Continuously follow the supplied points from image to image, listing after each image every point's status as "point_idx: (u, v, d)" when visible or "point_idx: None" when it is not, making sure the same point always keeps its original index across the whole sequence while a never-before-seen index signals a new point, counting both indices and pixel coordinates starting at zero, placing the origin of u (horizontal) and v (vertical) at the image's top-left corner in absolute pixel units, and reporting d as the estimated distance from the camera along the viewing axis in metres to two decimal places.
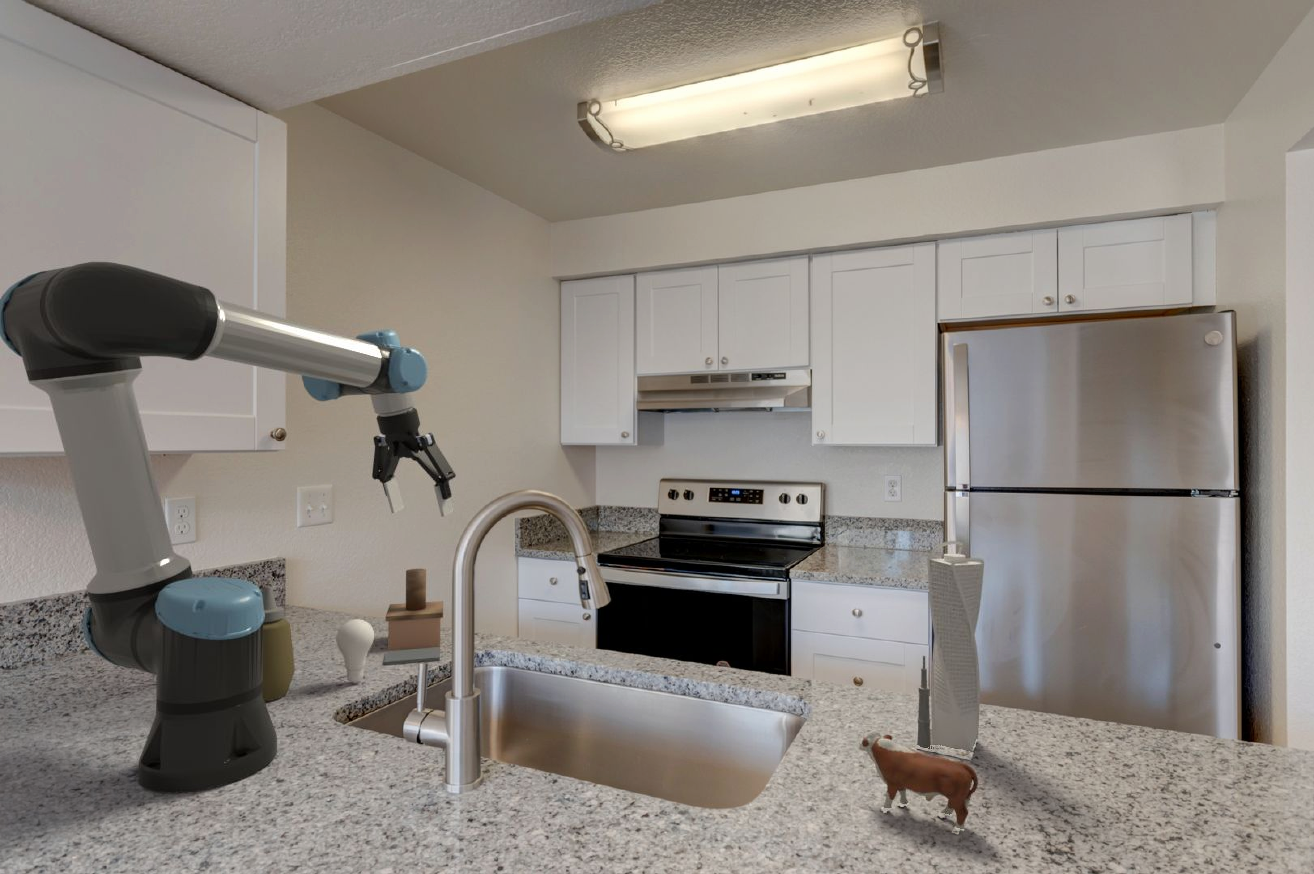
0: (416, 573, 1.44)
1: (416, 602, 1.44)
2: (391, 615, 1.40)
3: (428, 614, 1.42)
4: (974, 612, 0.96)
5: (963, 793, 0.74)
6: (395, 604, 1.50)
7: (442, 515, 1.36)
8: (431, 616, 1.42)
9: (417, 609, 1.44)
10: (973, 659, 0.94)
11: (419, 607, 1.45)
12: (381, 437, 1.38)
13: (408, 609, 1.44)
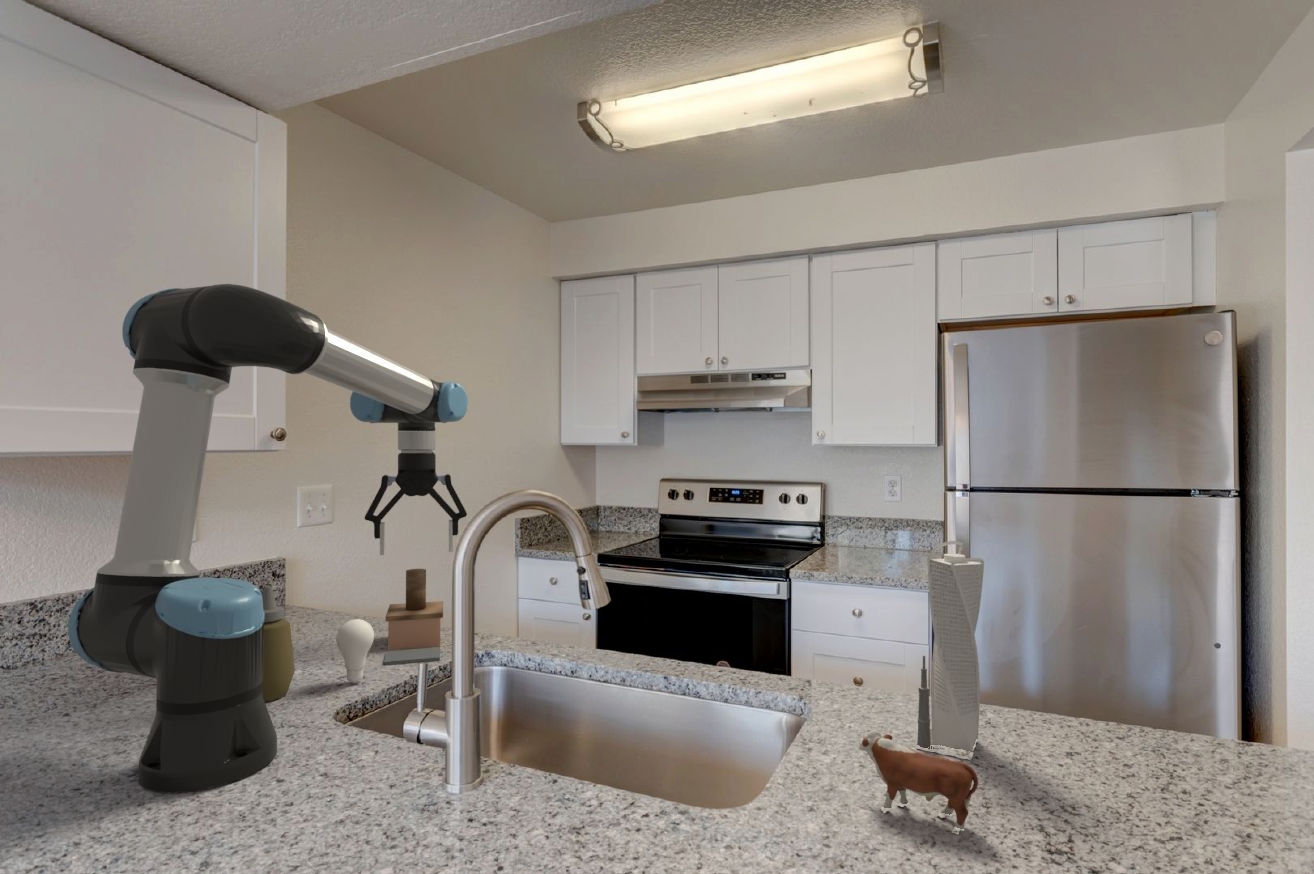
0: (416, 573, 1.44)
1: (416, 602, 1.44)
2: (391, 615, 1.40)
3: (428, 614, 1.42)
4: (974, 612, 0.96)
5: (963, 793, 0.74)
6: (395, 604, 1.50)
7: (450, 550, 1.47)
8: (431, 616, 1.42)
9: (417, 609, 1.44)
10: (973, 659, 0.94)
11: (419, 607, 1.45)
12: (389, 477, 1.45)
13: (408, 609, 1.44)
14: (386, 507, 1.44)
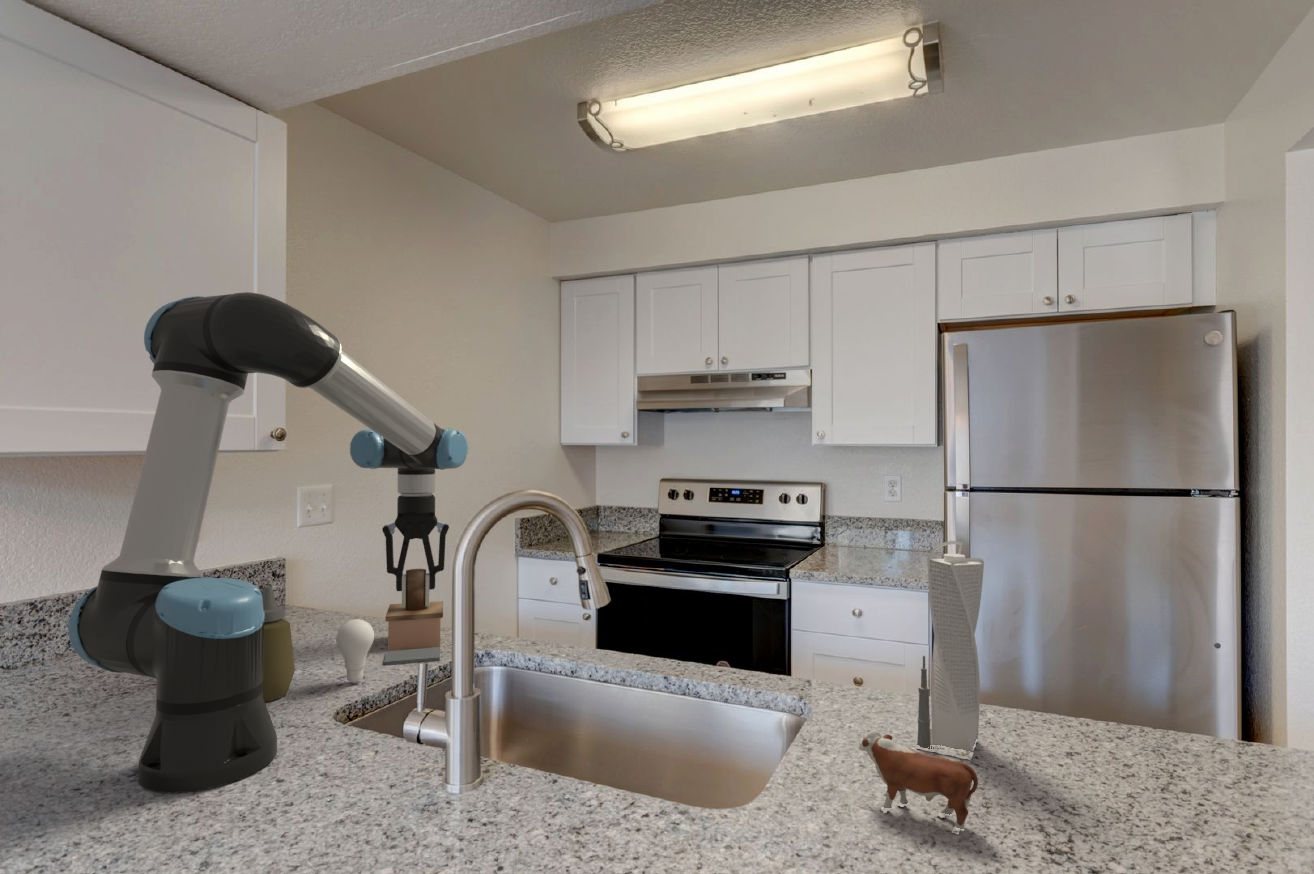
0: (416, 573, 1.44)
1: (416, 602, 1.44)
2: (391, 615, 1.40)
3: (428, 614, 1.42)
4: (974, 612, 0.96)
5: (963, 793, 0.74)
6: (395, 604, 1.50)
7: (427, 605, 1.46)
8: (431, 616, 1.42)
9: (417, 609, 1.44)
10: (973, 659, 0.94)
11: (419, 607, 1.45)
12: (389, 525, 1.44)
13: (408, 609, 1.44)
14: (401, 558, 1.44)
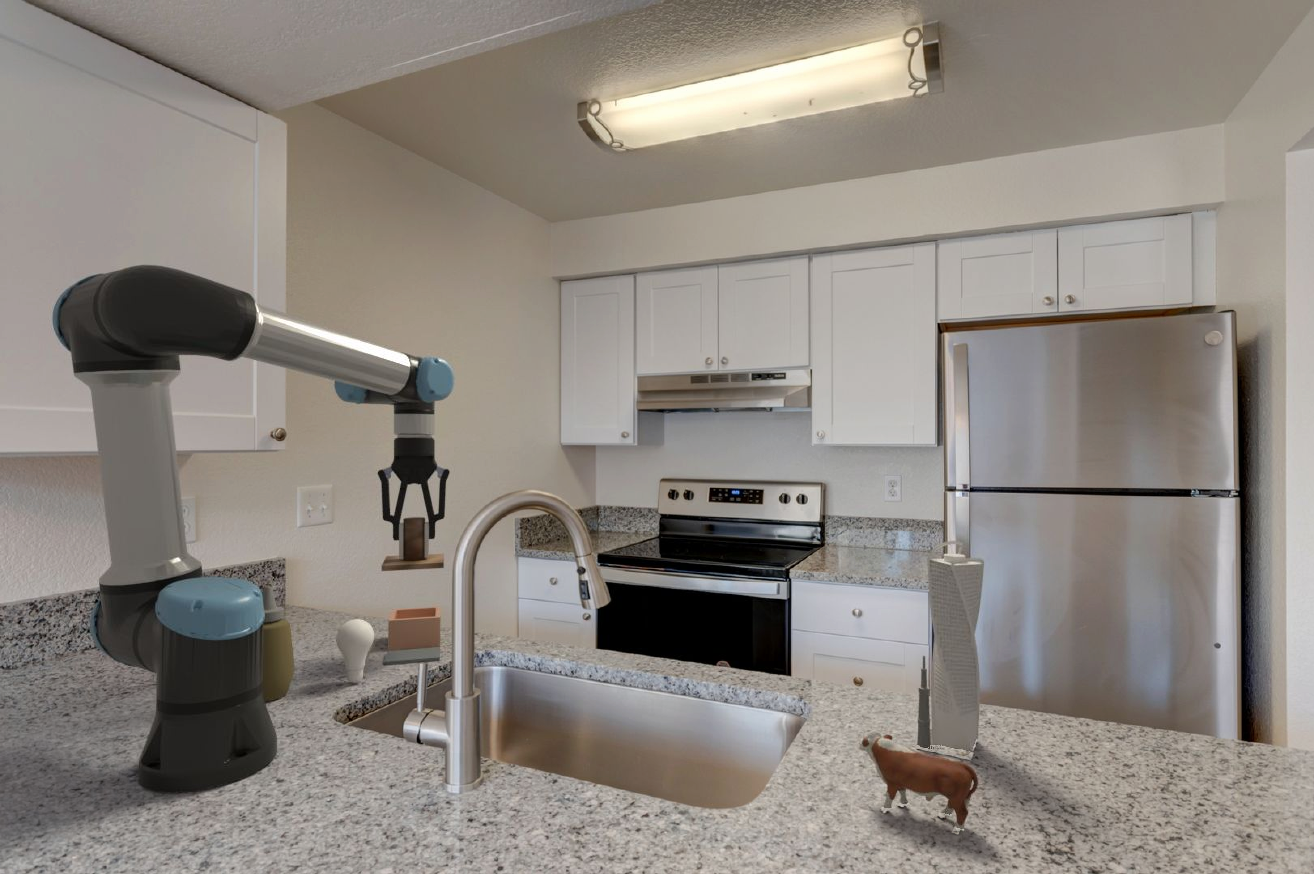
0: (414, 521, 1.34)
1: (414, 551, 1.34)
2: (387, 565, 1.30)
3: (428, 564, 1.31)
4: (974, 612, 0.96)
5: (963, 793, 0.74)
6: (392, 556, 1.39)
7: (426, 555, 1.35)
8: (431, 566, 1.31)
9: (416, 559, 1.34)
10: (973, 659, 0.94)
11: (418, 558, 1.34)
12: (384, 469, 1.34)
13: (406, 559, 1.34)
14: (398, 504, 1.34)
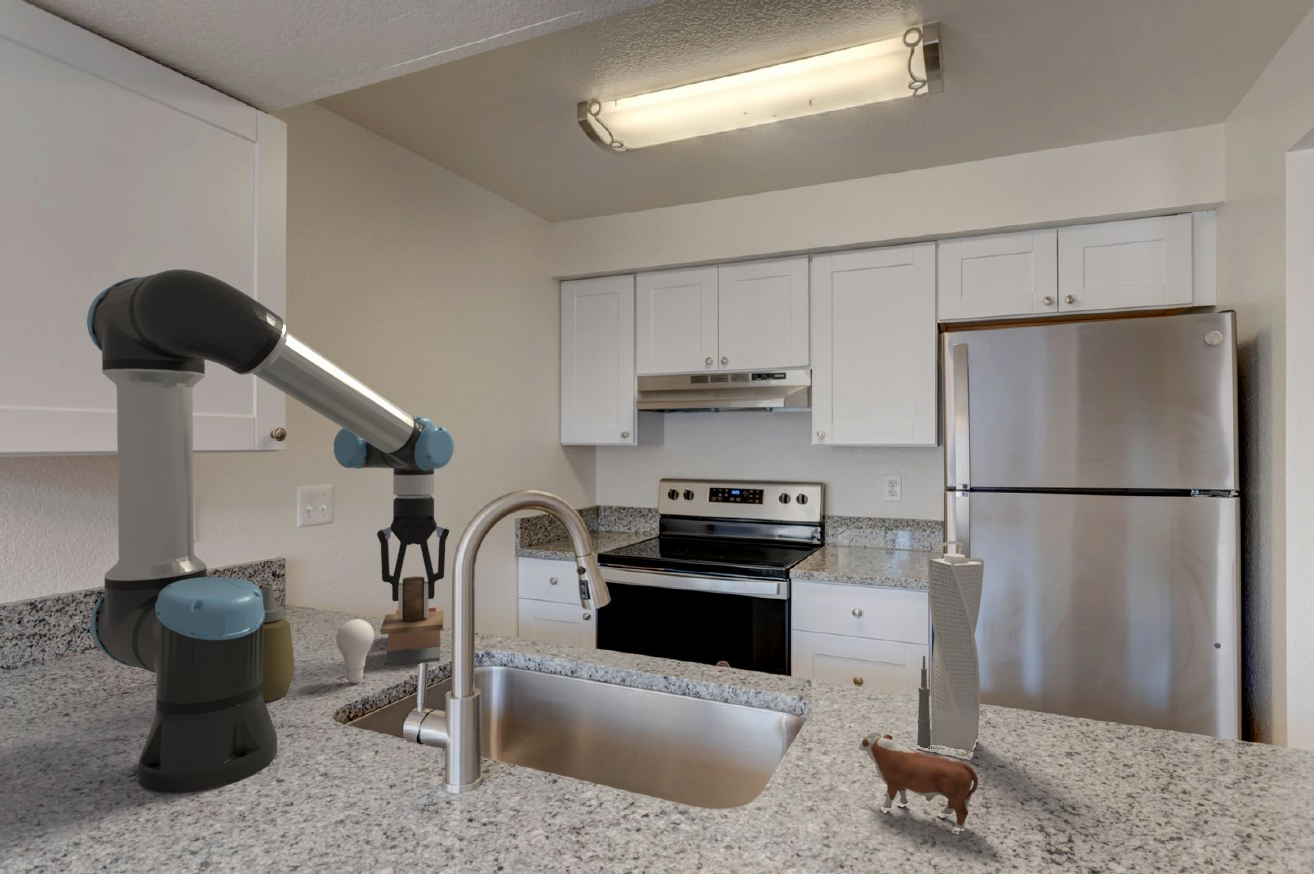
0: (414, 581, 1.33)
1: (414, 612, 1.33)
2: (387, 627, 1.29)
3: (427, 626, 1.31)
4: (974, 612, 0.96)
5: (963, 793, 0.74)
6: (391, 615, 1.39)
7: (425, 616, 1.35)
8: (430, 629, 1.31)
9: (415, 620, 1.33)
10: (973, 659, 0.94)
11: (417, 618, 1.34)
12: (384, 530, 1.33)
13: (405, 620, 1.33)
14: (397, 565, 1.33)
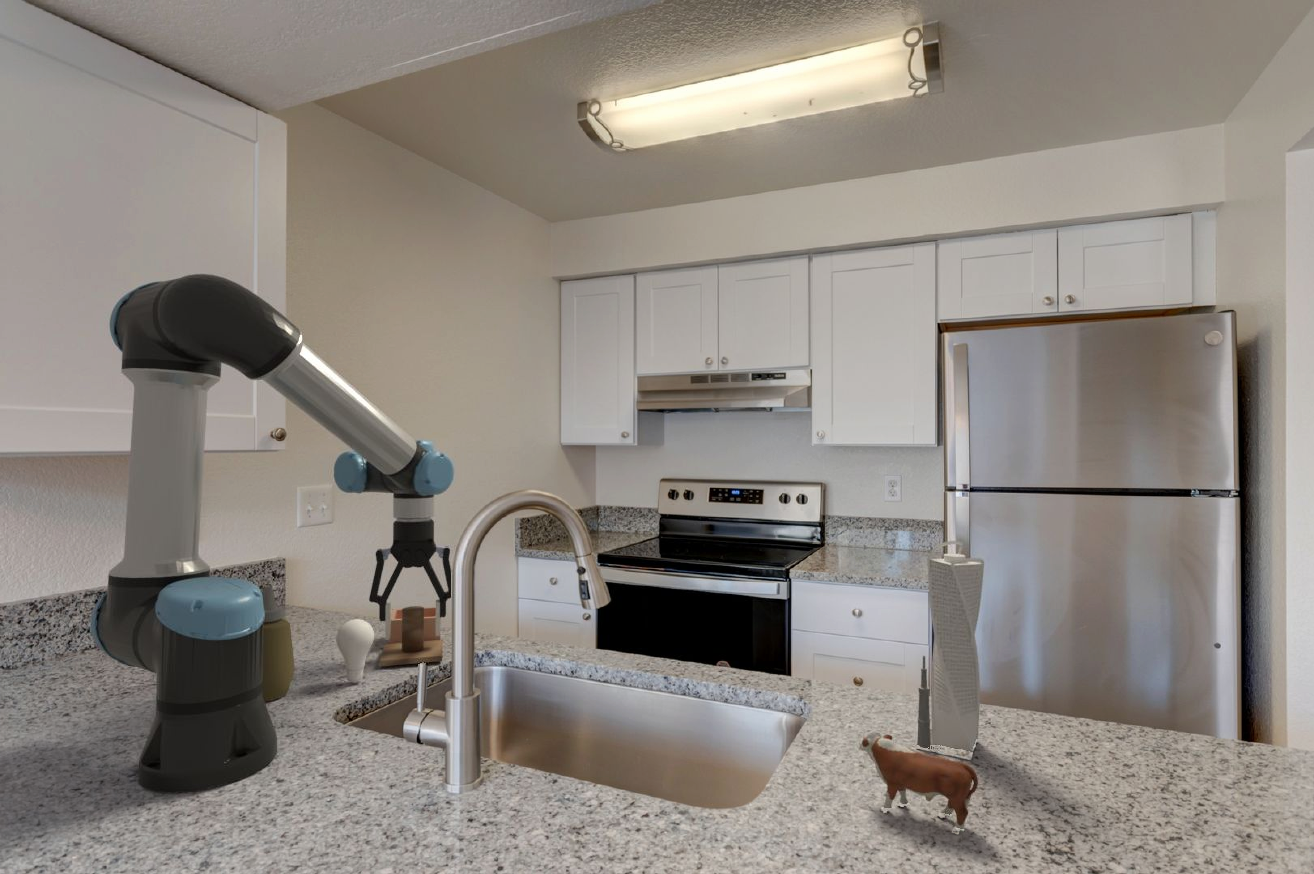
0: (413, 612, 1.33)
1: (413, 643, 1.33)
2: (386, 659, 1.29)
3: (426, 657, 1.31)
4: (974, 612, 0.96)
5: (963, 793, 0.74)
6: (391, 644, 1.39)
7: (437, 634, 1.35)
8: (429, 660, 1.31)
9: (414, 651, 1.33)
10: (973, 659, 0.94)
11: (416, 649, 1.34)
12: (383, 550, 1.33)
13: (404, 651, 1.33)
14: (388, 585, 1.33)
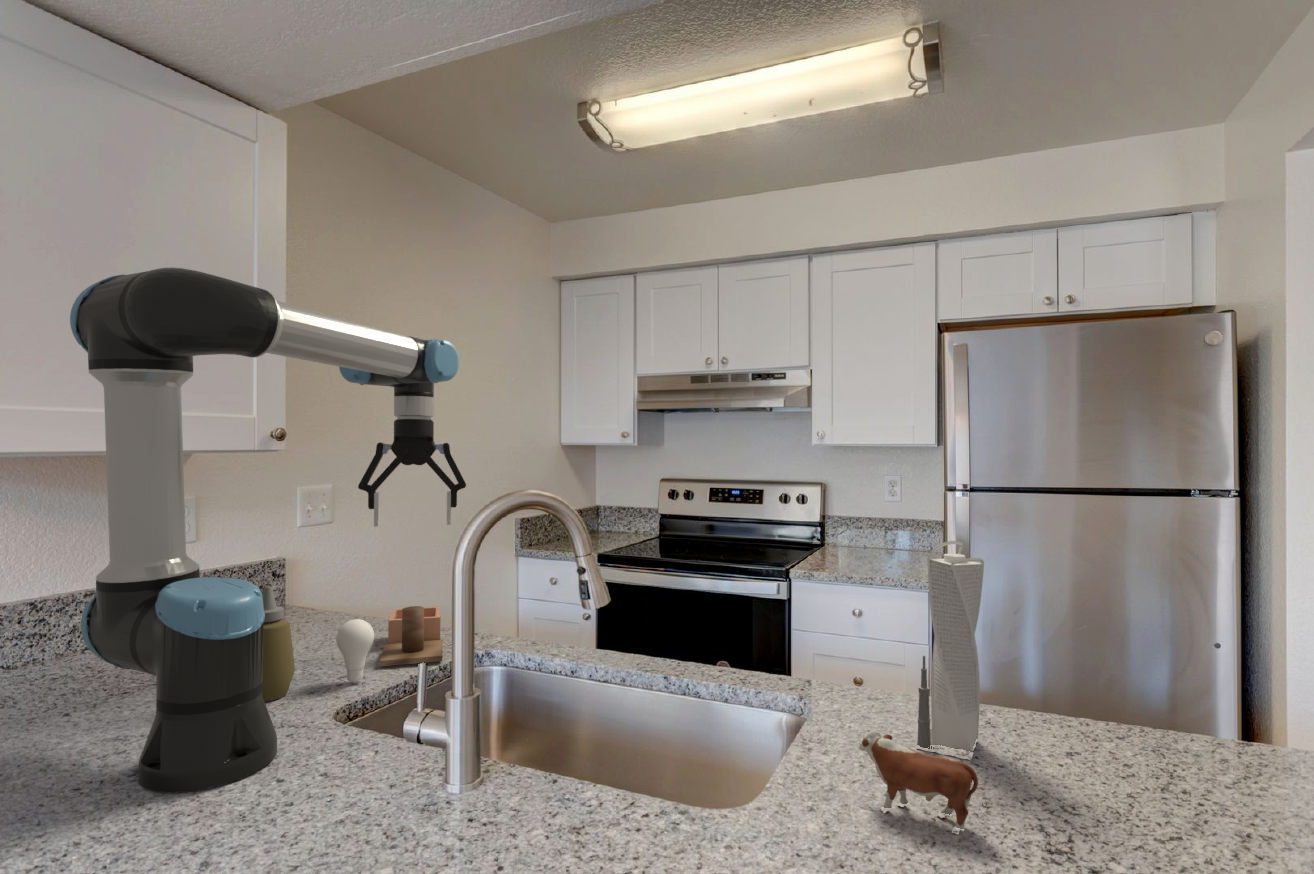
0: (413, 612, 1.33)
1: (413, 643, 1.33)
2: (386, 659, 1.29)
3: (426, 657, 1.31)
4: (974, 612, 0.96)
5: (963, 793, 0.74)
6: (391, 644, 1.39)
7: (448, 523, 1.39)
8: (429, 660, 1.31)
9: (414, 651, 1.33)
10: (973, 659, 0.94)
11: (416, 649, 1.34)
12: (384, 444, 1.37)
13: (404, 651, 1.33)
14: (381, 476, 1.36)
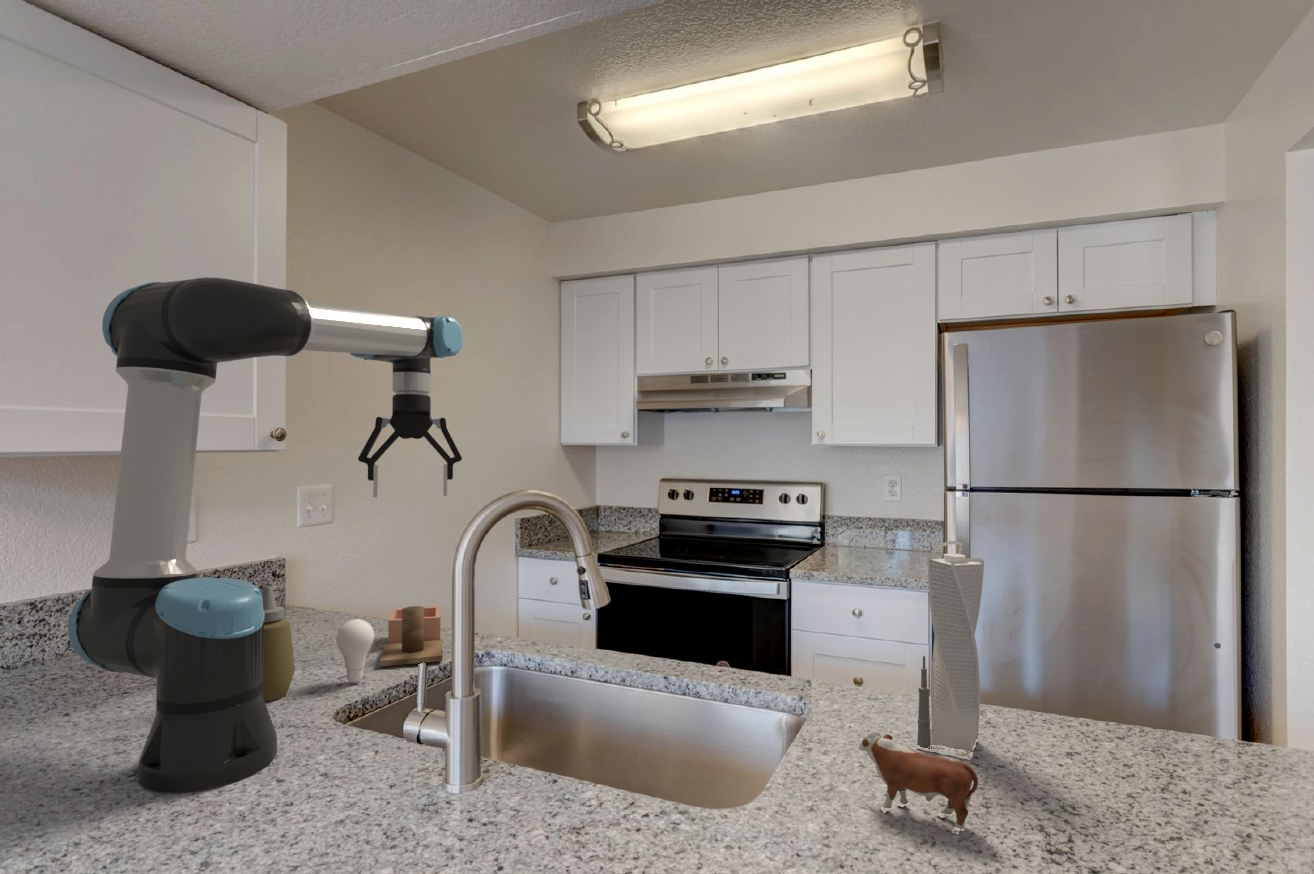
0: (413, 612, 1.33)
1: (413, 643, 1.33)
2: (386, 659, 1.29)
3: (426, 657, 1.31)
4: (974, 612, 0.96)
5: (963, 793, 0.74)
6: (391, 644, 1.39)
7: (445, 494, 1.45)
8: (429, 660, 1.31)
9: (414, 651, 1.33)
10: (973, 659, 0.94)
11: (416, 649, 1.34)
12: (383, 418, 1.43)
13: (404, 651, 1.33)
14: (380, 449, 1.42)
